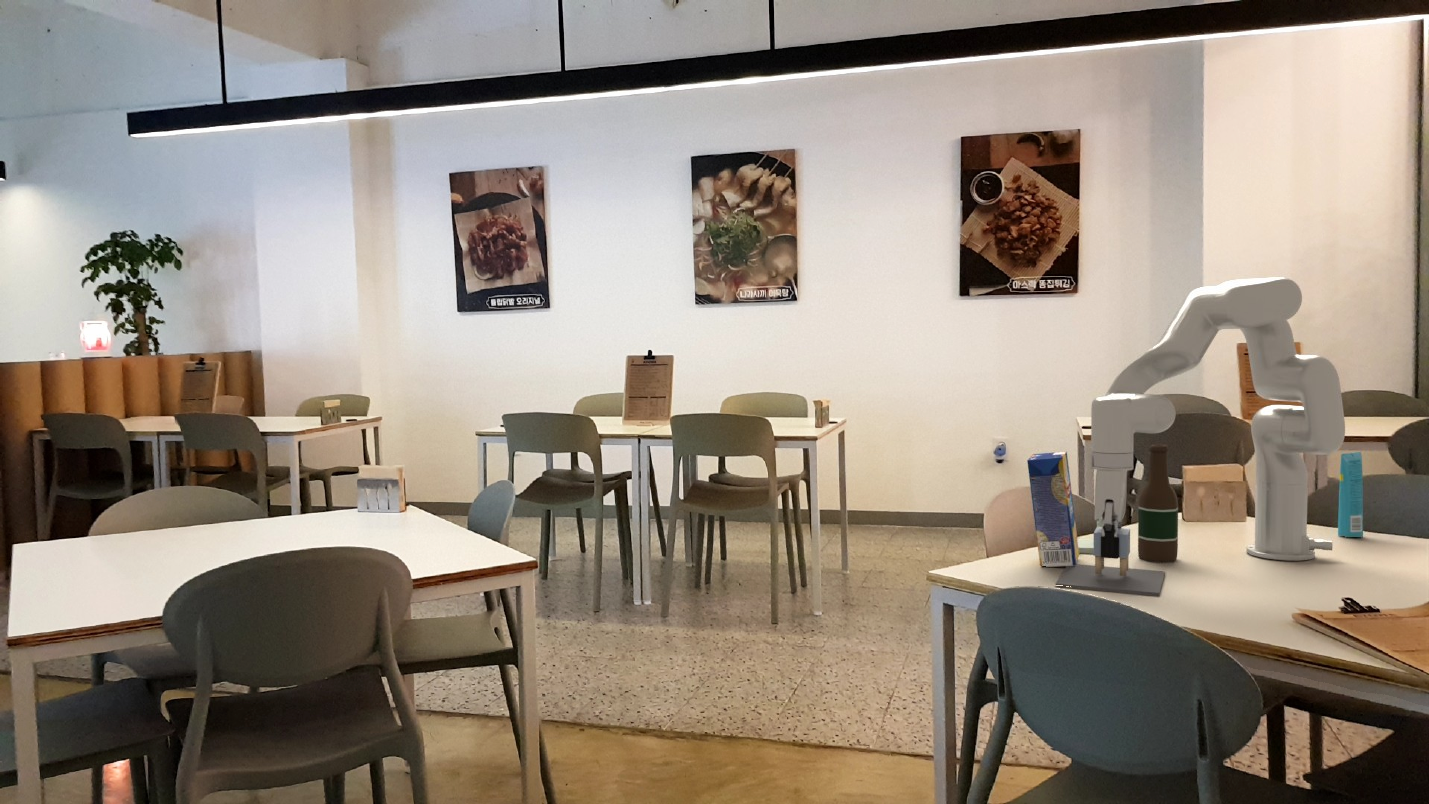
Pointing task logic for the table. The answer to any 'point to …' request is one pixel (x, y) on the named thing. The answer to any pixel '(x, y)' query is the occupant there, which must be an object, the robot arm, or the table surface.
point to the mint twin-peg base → (1087, 542)
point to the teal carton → (1351, 496)
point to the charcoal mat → (1112, 580)
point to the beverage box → (1053, 509)
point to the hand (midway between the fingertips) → (1111, 553)
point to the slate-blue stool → (1123, 550)
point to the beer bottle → (1158, 512)
